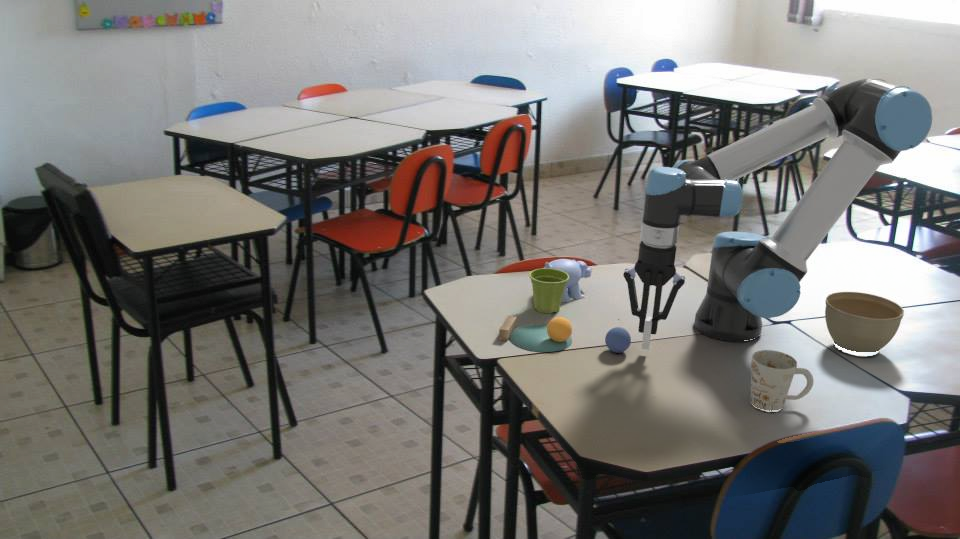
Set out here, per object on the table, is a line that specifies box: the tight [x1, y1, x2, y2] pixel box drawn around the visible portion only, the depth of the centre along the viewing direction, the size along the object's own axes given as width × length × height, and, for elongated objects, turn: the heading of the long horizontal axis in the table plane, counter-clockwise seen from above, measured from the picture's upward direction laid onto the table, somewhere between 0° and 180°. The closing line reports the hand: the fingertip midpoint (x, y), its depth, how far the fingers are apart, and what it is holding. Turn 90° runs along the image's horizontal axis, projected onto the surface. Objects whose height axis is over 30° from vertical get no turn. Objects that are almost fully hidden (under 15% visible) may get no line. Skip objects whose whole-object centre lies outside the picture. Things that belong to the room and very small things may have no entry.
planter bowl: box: [824, 291, 905, 352], centre depth 202 cm, size 16×16×11 cm
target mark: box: [509, 324, 573, 353], centre depth 202 cm, size 14×14×1 cm
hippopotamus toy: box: [543, 258, 593, 303], centre depth 227 cm, size 11×15×10 cm
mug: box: [750, 349, 814, 411], centre depth 176 cm, size 8×13×10 cm, turn 95°
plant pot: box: [528, 267, 569, 314], centre depth 216 cm, size 9×9×9 cm
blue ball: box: [604, 326, 632, 354], centre depth 196 cm, size 6×6×6 cm
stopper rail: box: [498, 315, 517, 342], centre depth 203 cm, size 2×8×2 cm, turn 165°
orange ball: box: [547, 316, 573, 342], centre depth 200 cm, size 6×6×6 cm
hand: (645, 346), depth 196 cm, fingers closed
